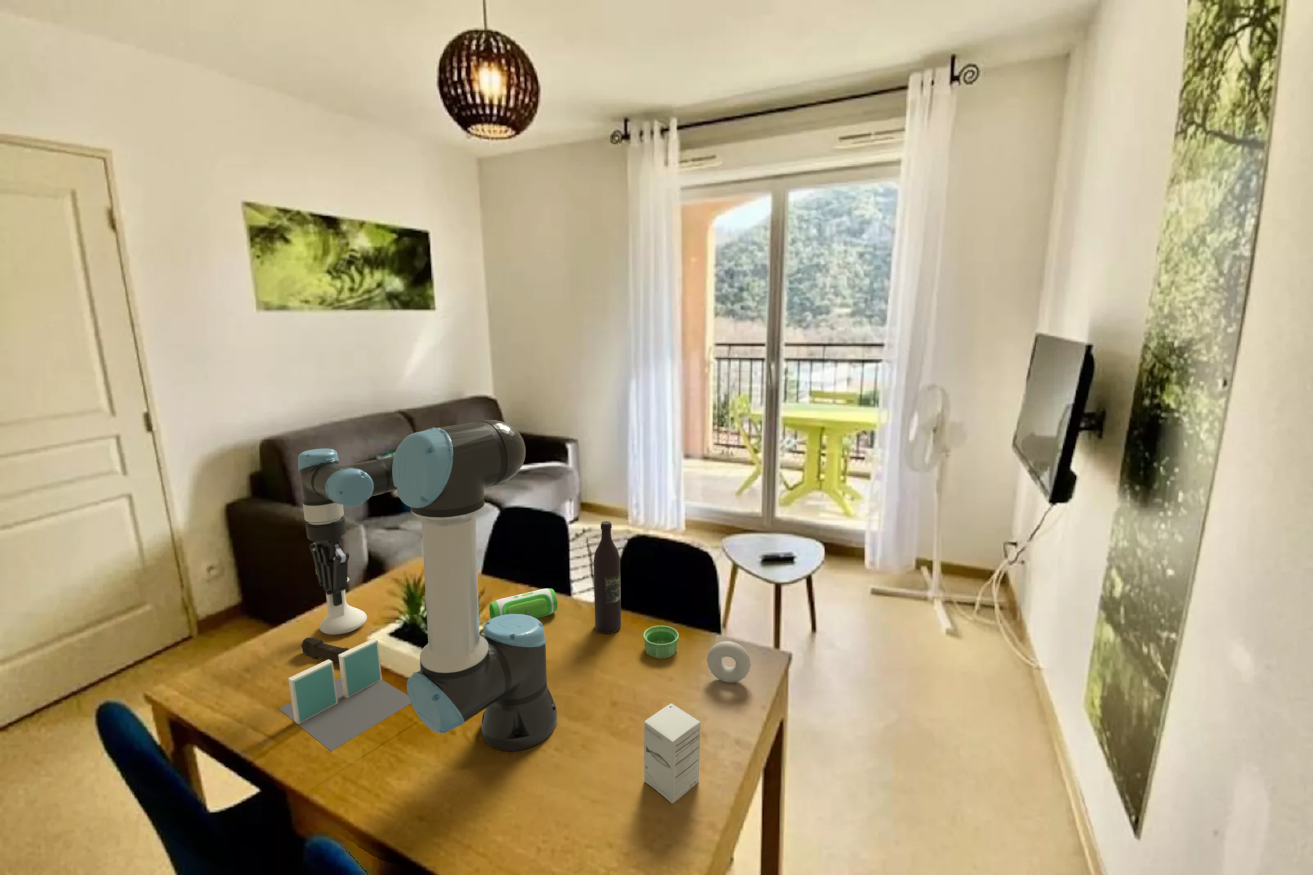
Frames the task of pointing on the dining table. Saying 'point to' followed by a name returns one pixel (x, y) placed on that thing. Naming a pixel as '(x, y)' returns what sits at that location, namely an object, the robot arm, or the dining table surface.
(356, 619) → the flower in vase
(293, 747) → the dining table surface
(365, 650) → the tile far
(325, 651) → the hand tool
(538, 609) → the speaker
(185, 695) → the dining table surface
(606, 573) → the wine bottle
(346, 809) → the dining table surface
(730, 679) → the donut
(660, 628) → the ramekin
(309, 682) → the tile near
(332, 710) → the mat
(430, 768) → the dining table surface
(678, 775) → the supplement box
